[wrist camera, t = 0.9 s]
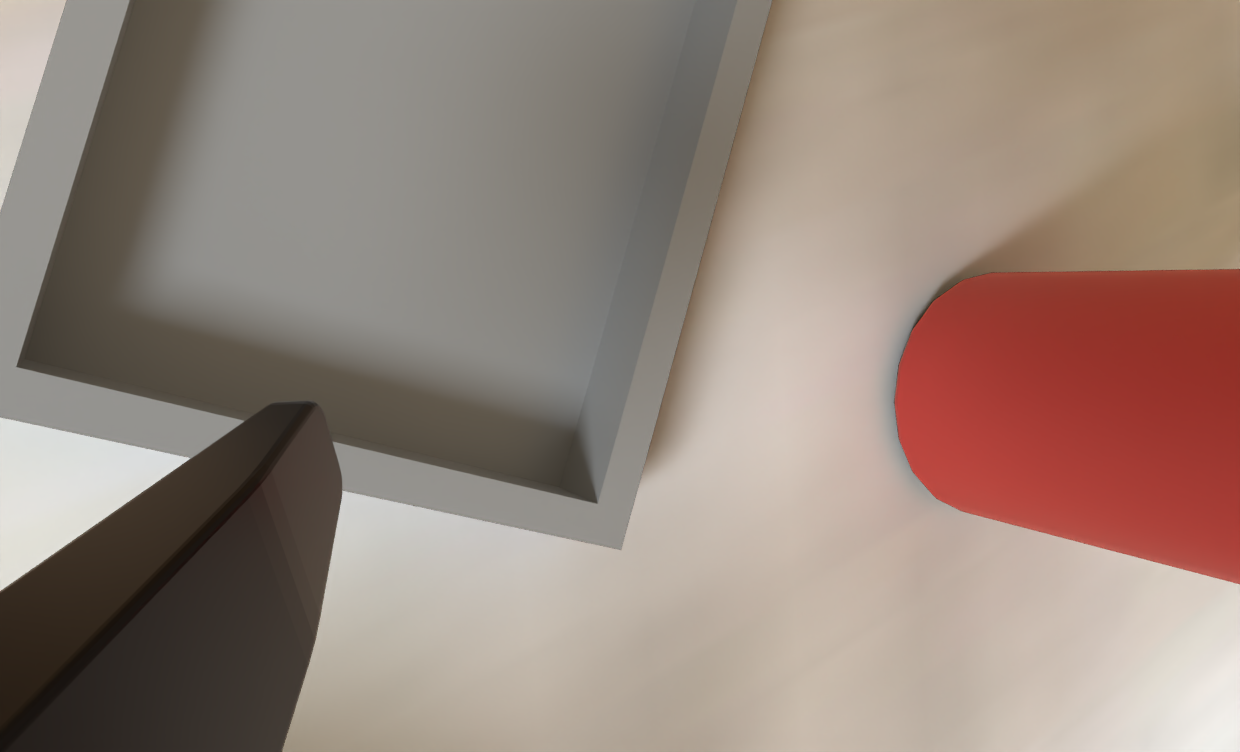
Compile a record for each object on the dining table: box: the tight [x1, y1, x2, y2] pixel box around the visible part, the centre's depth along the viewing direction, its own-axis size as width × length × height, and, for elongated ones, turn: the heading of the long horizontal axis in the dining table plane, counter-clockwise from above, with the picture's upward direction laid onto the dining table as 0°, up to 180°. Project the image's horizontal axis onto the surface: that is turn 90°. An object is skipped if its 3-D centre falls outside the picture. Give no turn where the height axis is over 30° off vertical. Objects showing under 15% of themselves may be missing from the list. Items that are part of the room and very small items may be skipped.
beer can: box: [894, 269, 1240, 584], centre depth 23 cm, size 7×7×12 cm
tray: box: [0, 0, 772, 550], centre depth 19 cm, size 16×12×2 cm
